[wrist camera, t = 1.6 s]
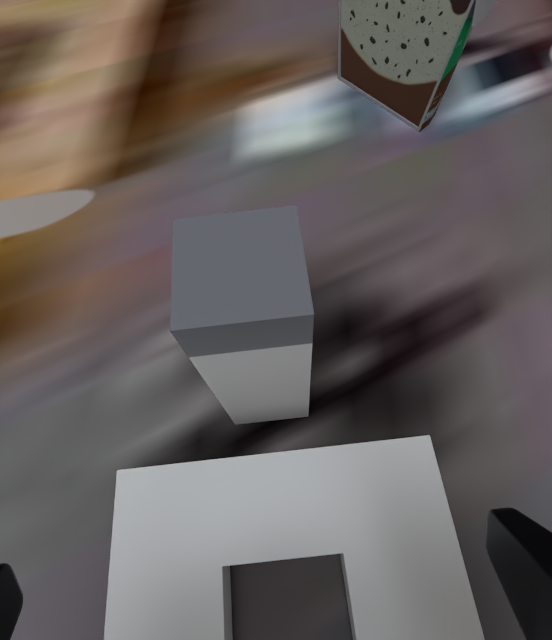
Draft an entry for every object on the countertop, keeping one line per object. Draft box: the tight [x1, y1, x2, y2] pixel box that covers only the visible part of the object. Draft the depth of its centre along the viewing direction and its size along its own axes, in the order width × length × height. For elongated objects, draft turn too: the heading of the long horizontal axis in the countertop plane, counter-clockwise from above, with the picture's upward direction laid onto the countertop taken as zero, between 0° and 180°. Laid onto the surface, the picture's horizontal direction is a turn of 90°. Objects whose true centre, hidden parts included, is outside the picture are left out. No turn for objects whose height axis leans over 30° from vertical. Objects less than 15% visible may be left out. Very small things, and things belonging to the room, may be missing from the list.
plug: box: [170, 205, 314, 425], centre depth 17 cm, size 4×4×12 cm
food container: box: [338, 0, 496, 132], centre depth 29 cm, size 12×6×10 cm, turn 38°
